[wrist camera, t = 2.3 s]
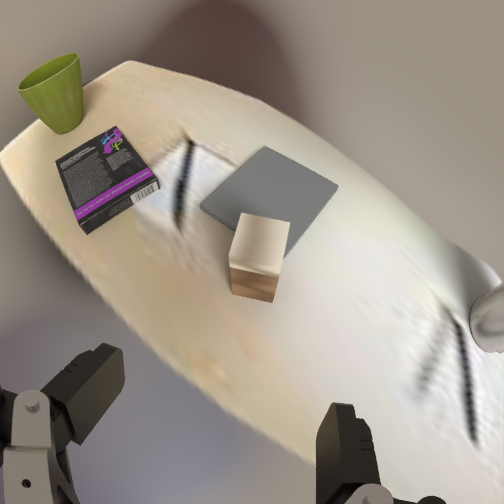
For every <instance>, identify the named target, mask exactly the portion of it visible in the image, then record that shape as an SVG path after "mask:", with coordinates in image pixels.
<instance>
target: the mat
mask: <svg viewBox="0 0 504 504" xmlns="http://www.w3.org/2000/svg"><path fill="white" fill-rule="evenodd" d="M338 186H339V185H337V184H335V183H333V182H332V181H330V180H328V179H326V178H325V177H323V176H321V175H319V174H317V173H316V172H314V171H312V170H310V169H308V168H306V167H305V166H303V165H301V164H299V163H297V162H295V161H293V160H292V159H290V158H288V157H286V156H284V155H282V154H280V153H278V152H276V151H274V150H272V149H270V148H268V147H266V146H265V147H264V148H263V149H261V150H260V151H259V152H258V153H257V154H256V155H254V156H253V157H252V158H251V159H250V160H249V161H247V162H246V163H245V164H244V165H243V166H242V167H241V168H239V169H238V170H237V171H236V172H235V173H234V174H233V175H232V176H230V177H229V178H228V179H227V180H226V181H225V182H224V183H223V184H222V185H221V186H219V187H218V188H217V189H216V190H215V191H214V192H213V193H212V194H211V195H210V196H209V197H207V198H206V199H205V200H204V201H203V202H202V203H201V204H200V208H201V209H202V210H203V211H205V212H206V213H208V214H209V215H211V216H212V217H214V218H215V219H217V220H218V221H220V222H221V223H223V224H225V225H226V226H228V227H229V228H231V229H232V230H234V231H235V232H236V229H237V225H238V222H239V219H240V216H241V213H246V214H251V215H256V216H261V217H266V218H271V219H276V220H281V221H285V222H290V227H289V232H288V237H287V242H286V247H285V252H284V257H283V259H284V258H285V257H286V255H287V254H288V253H289V251H290V250H291V249H292V248H293V246H294V245H295V244H296V243H297V241H298V240H299V239H300V237H301V236H302V235H303V234H304V232H305V231H306V230H307V228H308V227H309V226H310V225H311V223H312V222H313V221H314V219H315V218H316V217H317V216H318V214H319V213H320V212H321V210H322V209H323V208H324V206H325V205H326V204H327V202H328V201H329V200H330V199H331V197H332V196H333V195H334V193H335V192H336V191H337V189H338Z"/></svg>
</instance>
